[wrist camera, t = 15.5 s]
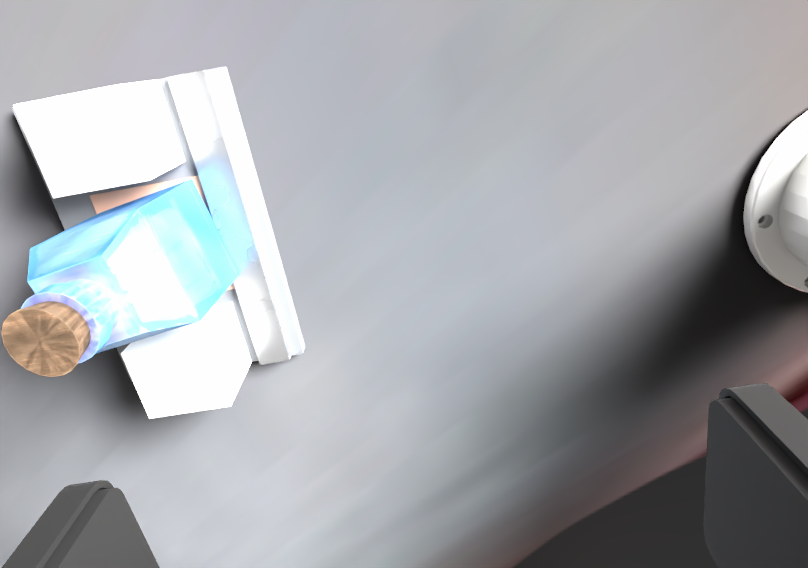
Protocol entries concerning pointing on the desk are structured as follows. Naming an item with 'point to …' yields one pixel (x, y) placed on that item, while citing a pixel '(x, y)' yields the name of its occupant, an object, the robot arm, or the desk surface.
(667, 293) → the desk surface
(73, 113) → the module rail
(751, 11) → the desk surface
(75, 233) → the perfume bottle
